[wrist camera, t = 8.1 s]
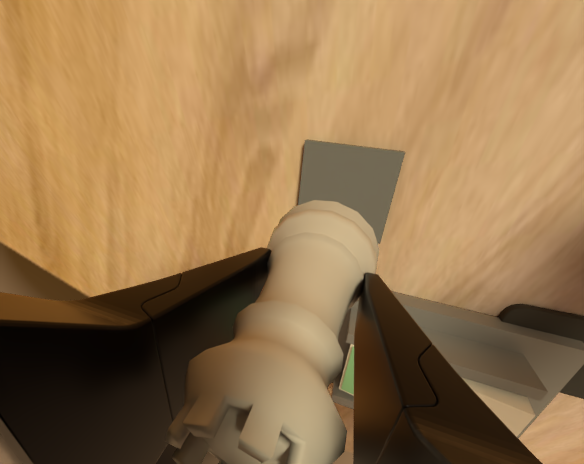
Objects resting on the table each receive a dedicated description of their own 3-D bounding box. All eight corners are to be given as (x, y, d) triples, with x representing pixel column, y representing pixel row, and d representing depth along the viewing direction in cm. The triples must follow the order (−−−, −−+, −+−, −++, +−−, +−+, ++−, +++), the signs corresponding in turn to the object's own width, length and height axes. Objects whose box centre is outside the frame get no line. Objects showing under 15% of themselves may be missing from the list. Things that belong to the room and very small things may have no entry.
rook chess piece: (383, 288, 11) (396, 597, 4) (288, 287, 12) (175, 506, 5) (374, 189, 9) (371, 409, 2) (267, 202, 11) (69, 355, 4)
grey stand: (577, 336, 18) (633, 394, 15) (504, 426, 24) (531, 487, 20) (318, 273, 23) (306, 303, 19) (303, 360, 28) (292, 398, 24)
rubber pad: (404, 151, 17) (405, 152, 17) (379, 240, 20) (379, 243, 20) (306, 139, 19) (305, 140, 18) (297, 223, 22) (295, 226, 21)
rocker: (526, 394, 17) (536, 418, 16) (488, 440, 20) (495, 465, 18) (355, 329, 21) (350, 343, 20) (342, 374, 24) (338, 390, 22)
